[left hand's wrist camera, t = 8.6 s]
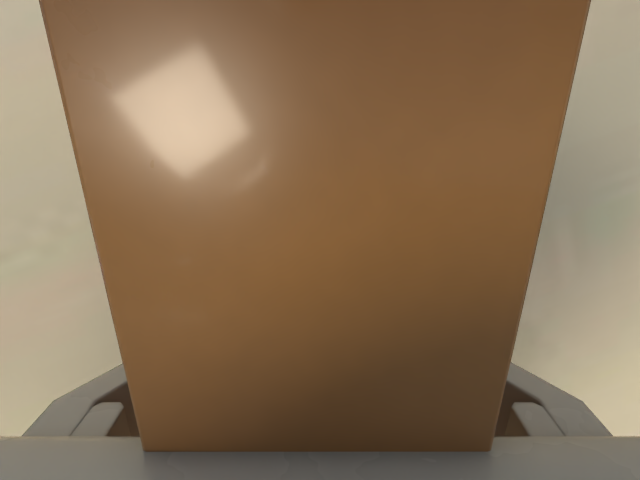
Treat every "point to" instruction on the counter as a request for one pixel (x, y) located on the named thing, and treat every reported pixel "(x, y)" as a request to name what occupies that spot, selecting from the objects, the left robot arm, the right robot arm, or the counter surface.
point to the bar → (315, 208)
